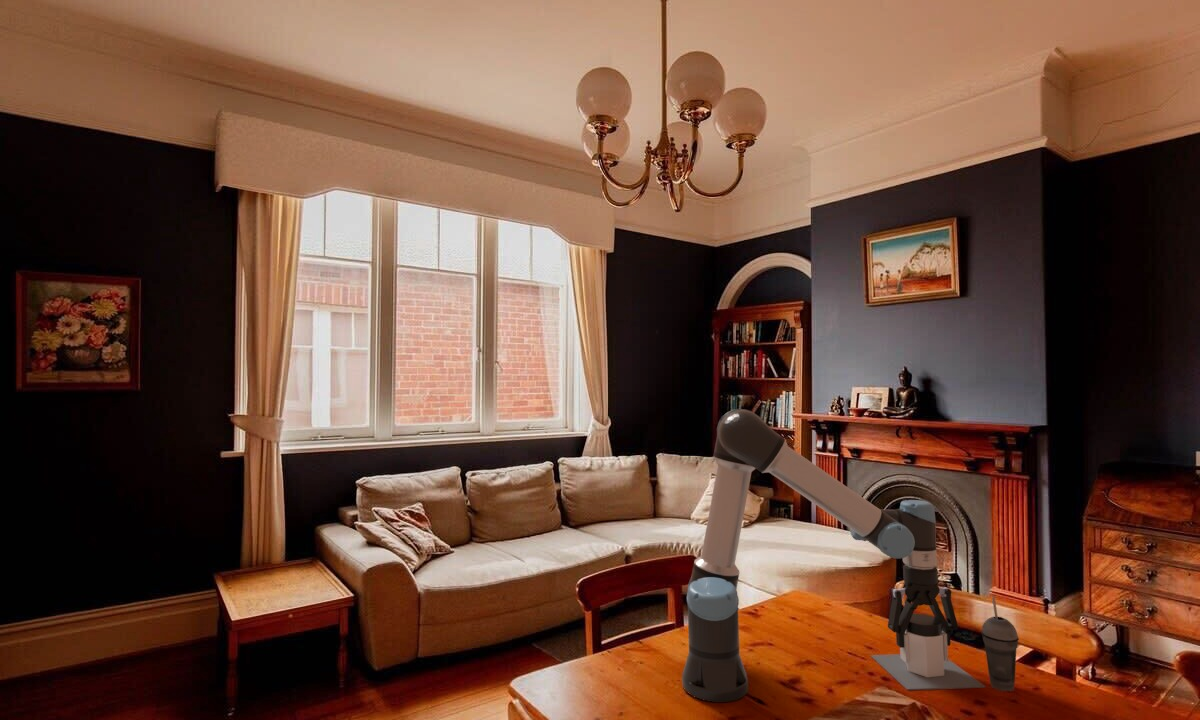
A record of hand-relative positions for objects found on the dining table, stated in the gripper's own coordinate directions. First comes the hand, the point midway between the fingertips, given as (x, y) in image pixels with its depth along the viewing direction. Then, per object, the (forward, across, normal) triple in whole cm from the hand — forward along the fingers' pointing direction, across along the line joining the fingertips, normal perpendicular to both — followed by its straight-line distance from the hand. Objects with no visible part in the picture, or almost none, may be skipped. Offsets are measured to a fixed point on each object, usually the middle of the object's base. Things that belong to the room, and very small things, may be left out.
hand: (924, 659), depth 151 cm
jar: (+3, 0, 0) cm, 3 cm away
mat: (+3, 0, 0) cm, 3 cm away
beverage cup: (+3, +13, -9) cm, 16 cm away
